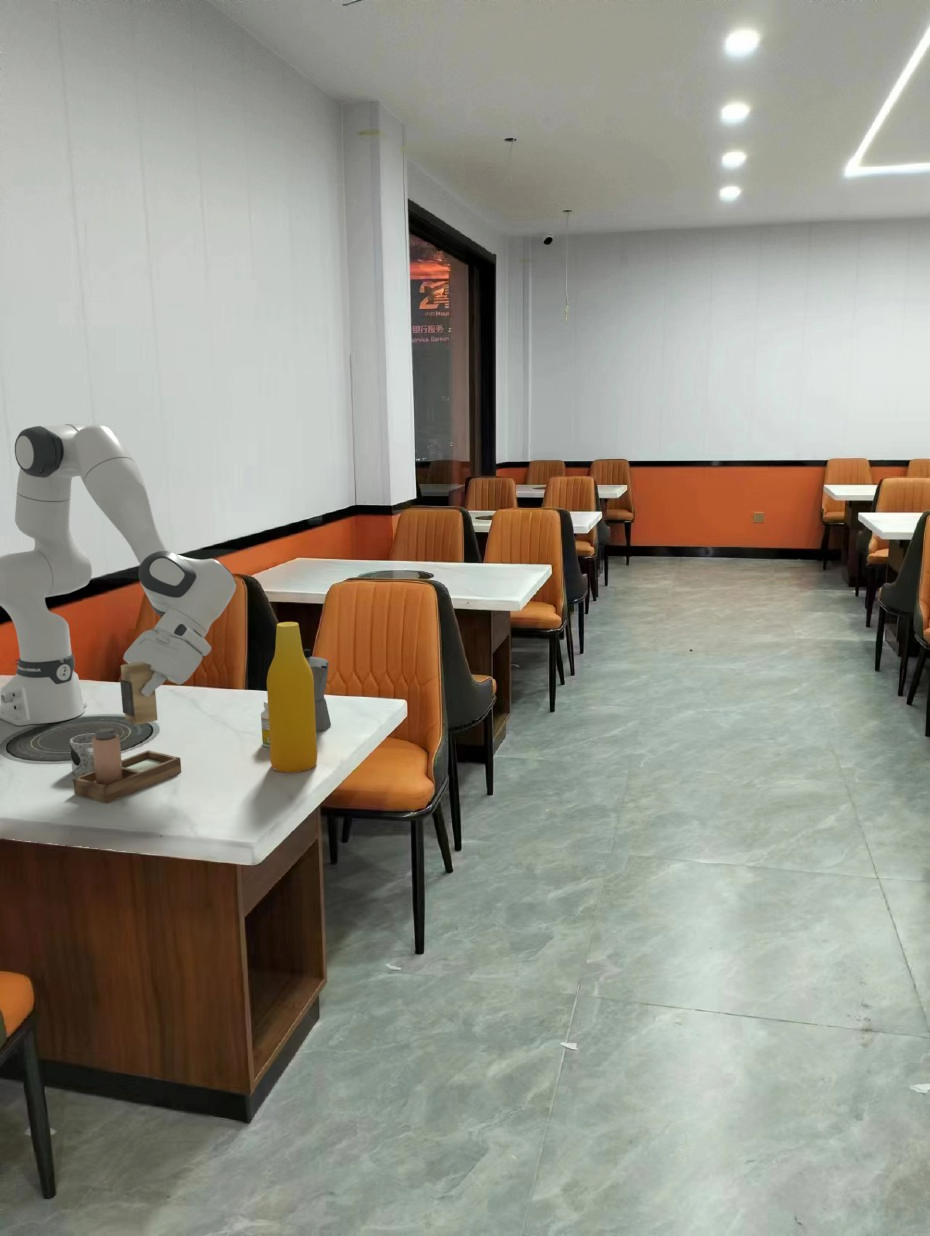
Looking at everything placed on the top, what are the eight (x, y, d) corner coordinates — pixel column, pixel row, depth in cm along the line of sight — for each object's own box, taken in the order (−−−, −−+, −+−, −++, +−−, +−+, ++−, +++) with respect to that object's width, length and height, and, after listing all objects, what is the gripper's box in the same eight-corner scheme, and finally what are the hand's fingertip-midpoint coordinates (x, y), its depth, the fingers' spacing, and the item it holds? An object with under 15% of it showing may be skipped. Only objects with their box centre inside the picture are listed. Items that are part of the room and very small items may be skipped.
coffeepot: (345, 727, 222) (342, 649, 219) (313, 738, 215) (309, 657, 212) (301, 714, 232) (298, 639, 229) (269, 724, 225) (264, 647, 222)
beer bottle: (273, 758, 203) (266, 619, 197) (319, 756, 204) (313, 618, 198) (268, 774, 194) (260, 629, 188) (315, 772, 195) (309, 628, 189)
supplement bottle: (278, 738, 216) (276, 695, 214) (293, 743, 212) (291, 700, 210) (257, 744, 212) (255, 700, 210) (271, 750, 208) (269, 705, 206)
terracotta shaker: (90, 784, 186) (85, 732, 184) (111, 776, 190) (106, 725, 188) (108, 789, 183) (103, 736, 181) (128, 781, 187) (124, 729, 185)
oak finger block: (122, 721, 191) (117, 665, 189) (146, 715, 195) (142, 661, 192) (133, 726, 188) (128, 669, 186) (157, 720, 192) (153, 665, 189)
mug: (71, 767, 199) (68, 736, 198) (106, 762, 202) (103, 731, 200) (74, 784, 190) (71, 751, 189) (111, 779, 193) (108, 746, 191)
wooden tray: (74, 794, 185) (73, 778, 185) (149, 764, 200) (148, 750, 200) (107, 803, 181) (105, 787, 180) (181, 772, 196) (180, 757, 195)
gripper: (142, 616, 200) (99, 672, 195) (193, 631, 186) (149, 692, 181) (164, 634, 204) (123, 690, 199) (216, 650, 190) (173, 711, 185)
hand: (135, 691), depth 190 cm, fingers closed on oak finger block, 4 cm apart
